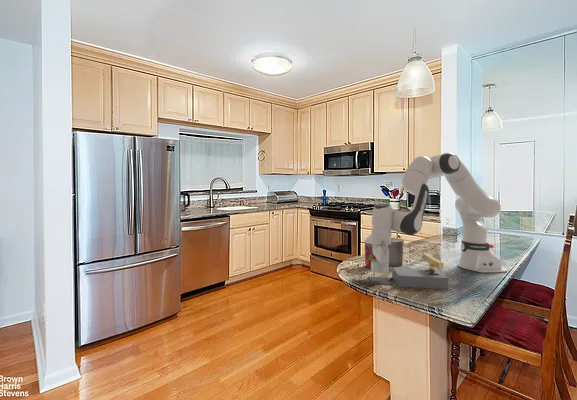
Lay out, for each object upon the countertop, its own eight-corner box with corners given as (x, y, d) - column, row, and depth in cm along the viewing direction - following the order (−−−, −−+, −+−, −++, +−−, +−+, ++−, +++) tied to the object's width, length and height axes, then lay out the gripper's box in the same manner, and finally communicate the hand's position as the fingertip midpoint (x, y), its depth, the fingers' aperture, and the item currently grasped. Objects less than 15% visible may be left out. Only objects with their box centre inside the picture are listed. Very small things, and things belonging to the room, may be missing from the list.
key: (421, 267, 146) (422, 253, 145) (426, 267, 146) (427, 253, 145) (437, 278, 130) (438, 263, 129) (443, 278, 130) (444, 263, 129)
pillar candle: (399, 261, 173) (400, 235, 172) (404, 266, 163) (405, 239, 162) (382, 261, 174) (383, 235, 173) (386, 266, 164) (386, 238, 163)
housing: (437, 279, 143) (438, 268, 143) (448, 289, 132) (448, 276, 131) (392, 277, 146) (392, 266, 145) (398, 286, 134) (398, 274, 133)
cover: (386, 270, 142) (386, 261, 142) (388, 273, 137) (388, 264, 137) (370, 269, 143) (371, 260, 143) (372, 272, 138) (373, 264, 138)
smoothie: (380, 265, 165) (381, 229, 163) (379, 270, 157) (380, 232, 155) (364, 263, 168) (365, 228, 166) (362, 268, 160) (364, 230, 158)
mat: (387, 278, 144) (387, 277, 144) (391, 285, 135) (391, 284, 135) (368, 277, 145) (368, 276, 145) (371, 284, 136) (371, 283, 136)
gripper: (393, 244, 128) (391, 276, 129) (383, 235, 148) (382, 262, 150) (378, 244, 129) (376, 275, 130) (370, 234, 149) (369, 262, 150)
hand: (379, 268), depth 140 cm, fingers closed on cover, 5 cm apart
